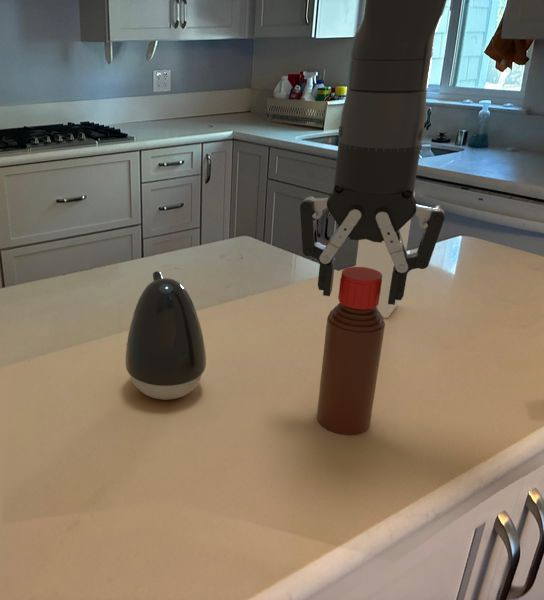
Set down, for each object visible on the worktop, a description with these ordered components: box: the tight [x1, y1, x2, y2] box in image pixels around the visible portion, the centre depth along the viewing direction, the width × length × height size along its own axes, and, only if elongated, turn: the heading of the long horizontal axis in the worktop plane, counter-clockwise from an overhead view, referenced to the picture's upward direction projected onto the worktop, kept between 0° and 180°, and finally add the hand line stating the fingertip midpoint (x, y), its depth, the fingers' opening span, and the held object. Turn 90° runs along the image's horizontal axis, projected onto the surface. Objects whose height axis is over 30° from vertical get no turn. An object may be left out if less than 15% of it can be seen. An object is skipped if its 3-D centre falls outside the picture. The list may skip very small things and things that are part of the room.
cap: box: [338, 266, 382, 310], centre depth 66 cm, size 4×4×3 cm
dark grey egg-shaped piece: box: [124, 270, 207, 401], centre depth 76 cm, size 10×10×15 cm
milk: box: [355, 190, 416, 319], centre depth 96 cm, size 6×6×22 cm
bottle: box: [316, 302, 386, 436], centre depth 69 cm, size 6×6×18 cm
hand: (358, 297), depth 66 cm, fingers open, 6 cm apart
